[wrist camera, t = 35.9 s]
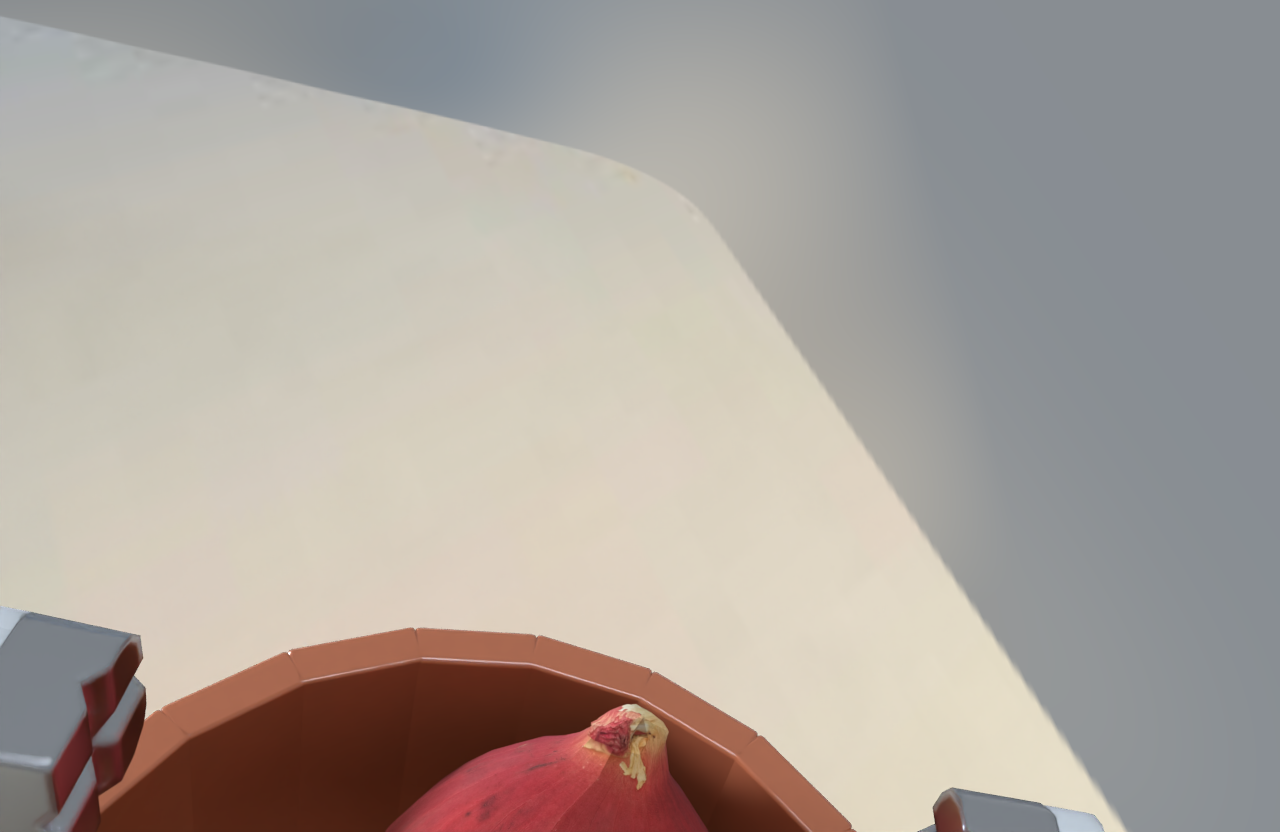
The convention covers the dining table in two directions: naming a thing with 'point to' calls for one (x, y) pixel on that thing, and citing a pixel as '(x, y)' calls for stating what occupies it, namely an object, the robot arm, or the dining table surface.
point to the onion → (564, 785)
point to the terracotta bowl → (425, 737)
